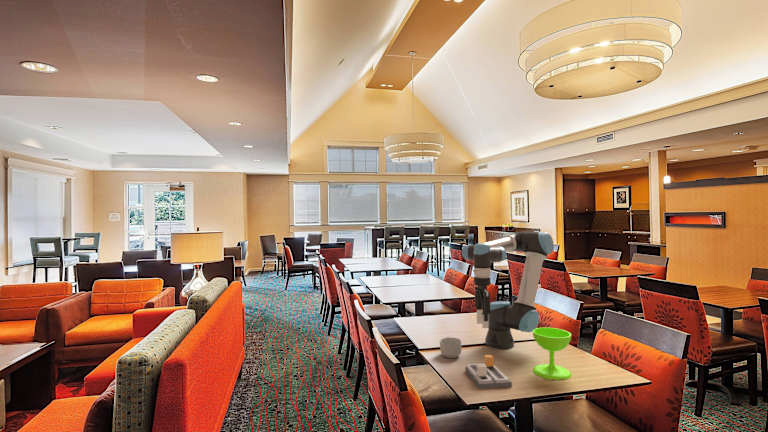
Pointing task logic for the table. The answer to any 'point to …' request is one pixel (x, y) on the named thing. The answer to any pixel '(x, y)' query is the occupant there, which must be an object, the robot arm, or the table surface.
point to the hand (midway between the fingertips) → (482, 325)
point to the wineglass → (552, 351)
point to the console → (488, 377)
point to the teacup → (450, 347)
